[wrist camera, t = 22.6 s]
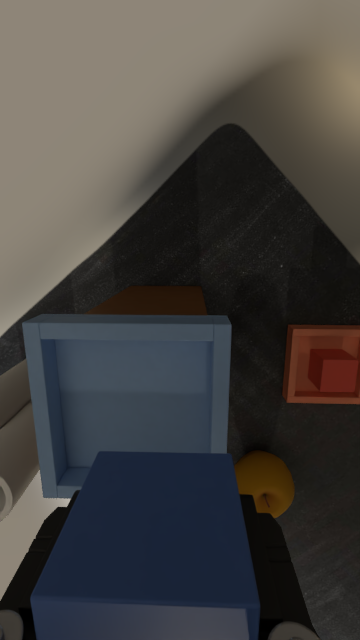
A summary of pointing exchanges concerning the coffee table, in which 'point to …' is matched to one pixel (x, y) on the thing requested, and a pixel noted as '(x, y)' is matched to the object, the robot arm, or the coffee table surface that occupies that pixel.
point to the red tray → (297, 357)
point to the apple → (265, 481)
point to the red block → (332, 370)
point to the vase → (16, 437)
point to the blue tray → (127, 381)
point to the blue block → (151, 554)
